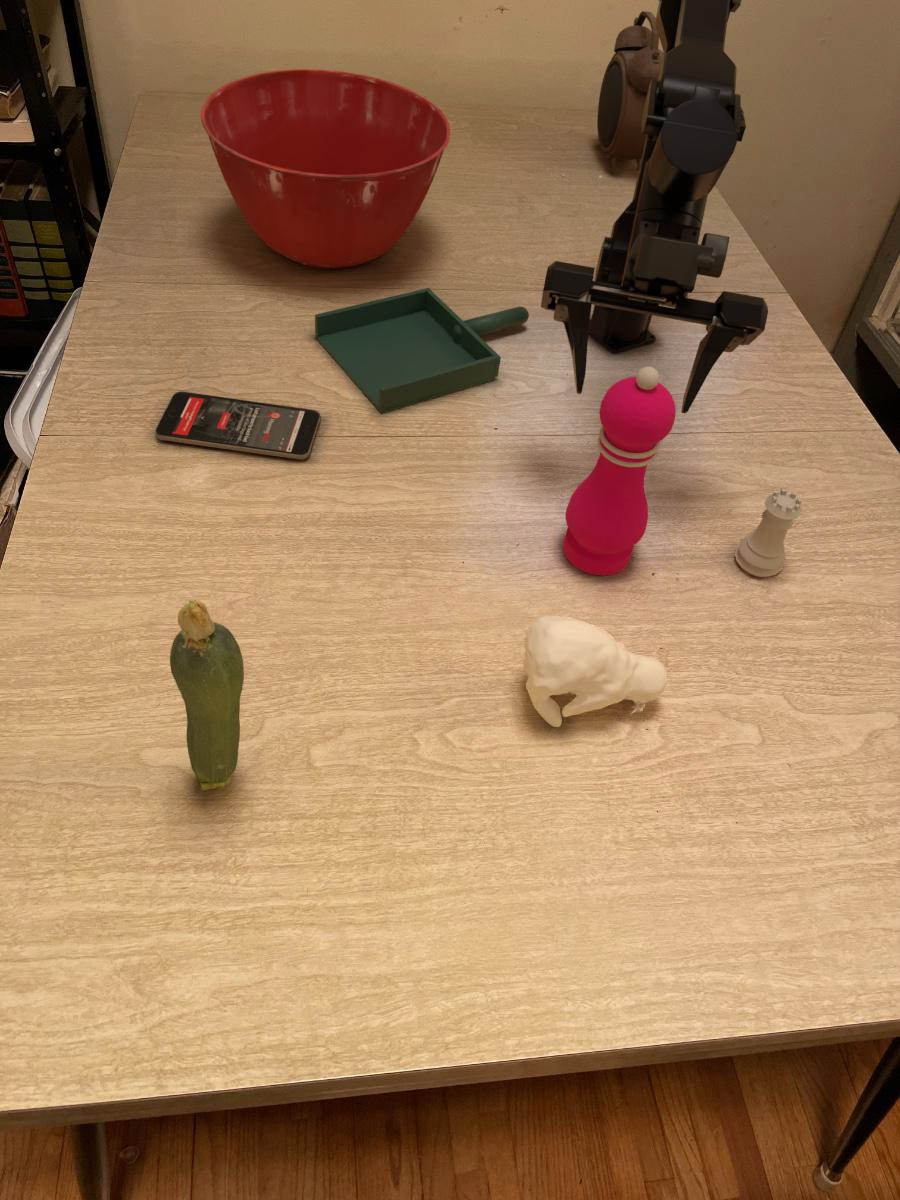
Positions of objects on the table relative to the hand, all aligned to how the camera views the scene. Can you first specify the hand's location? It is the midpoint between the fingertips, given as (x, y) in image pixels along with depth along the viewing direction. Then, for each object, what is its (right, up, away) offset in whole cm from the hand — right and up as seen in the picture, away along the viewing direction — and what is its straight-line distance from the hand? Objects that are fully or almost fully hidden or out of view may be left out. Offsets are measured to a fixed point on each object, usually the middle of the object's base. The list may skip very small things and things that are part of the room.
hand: (631, 402), depth 83 cm
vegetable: (-32, -30, -13) cm, 46 cm away
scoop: (-17, +11, +25) cm, 32 cm away
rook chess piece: (+13, -14, +7) cm, 20 cm away
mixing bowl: (-31, +28, +39) cm, 57 cm away
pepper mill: (-2, -13, +6) cm, 14 cm away
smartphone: (-37, 0, +13) cm, 39 cm away
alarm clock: (+10, +50, +64) cm, 81 cm away
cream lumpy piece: (-5, -25, -6) cm, 26 cm away
